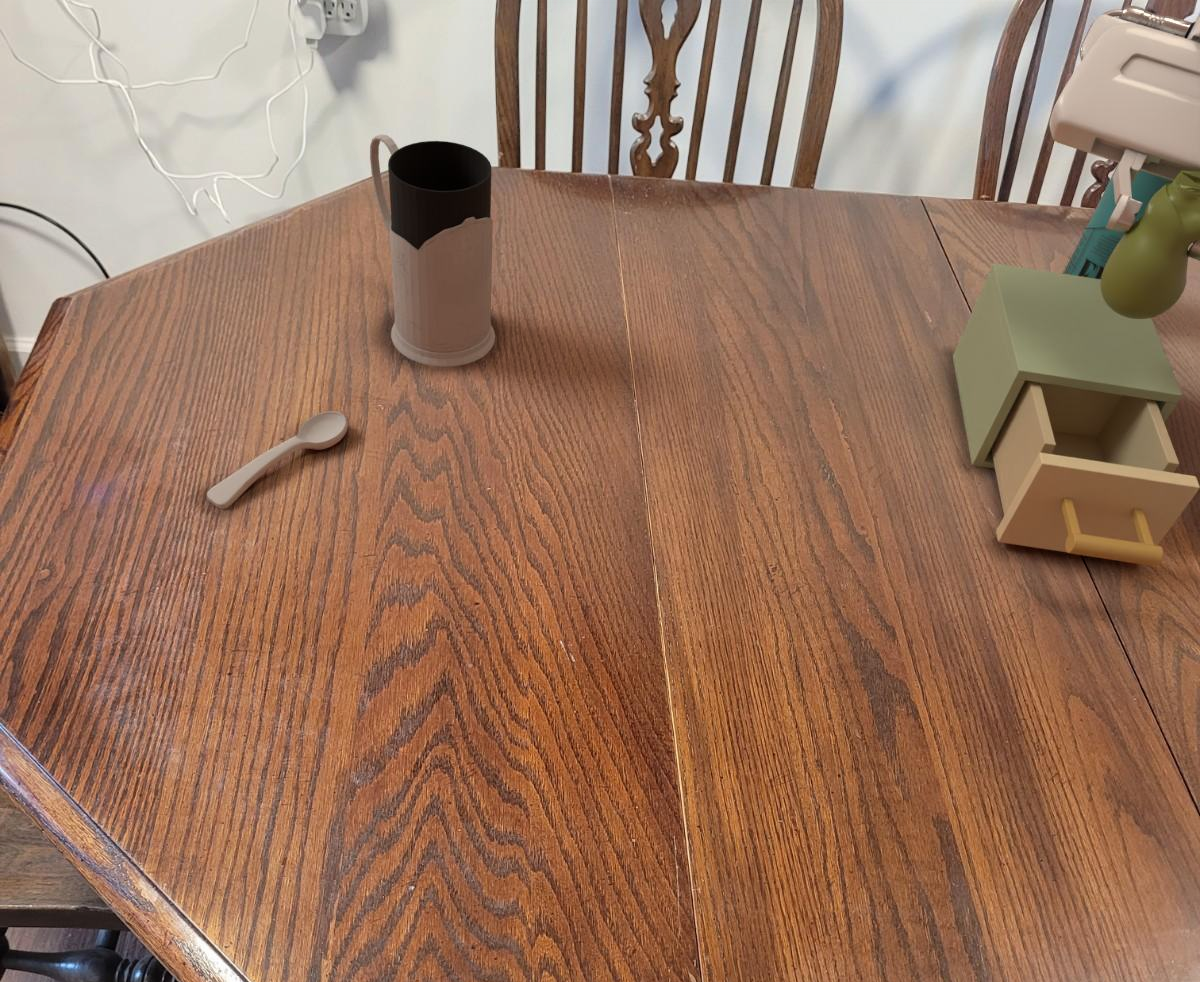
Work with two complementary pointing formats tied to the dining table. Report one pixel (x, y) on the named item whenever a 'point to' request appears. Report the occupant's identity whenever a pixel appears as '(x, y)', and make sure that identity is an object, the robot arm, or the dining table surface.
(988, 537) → the dining table surface
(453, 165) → the glass holder
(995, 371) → the cabinet
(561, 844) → the dining table surface
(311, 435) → the spoon
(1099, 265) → the beverage bottle
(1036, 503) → the drawer
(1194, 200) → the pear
